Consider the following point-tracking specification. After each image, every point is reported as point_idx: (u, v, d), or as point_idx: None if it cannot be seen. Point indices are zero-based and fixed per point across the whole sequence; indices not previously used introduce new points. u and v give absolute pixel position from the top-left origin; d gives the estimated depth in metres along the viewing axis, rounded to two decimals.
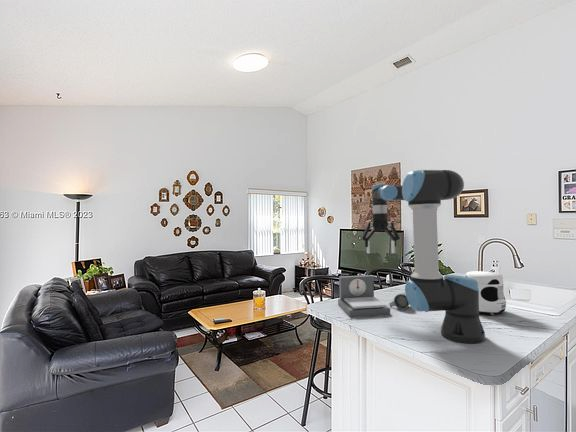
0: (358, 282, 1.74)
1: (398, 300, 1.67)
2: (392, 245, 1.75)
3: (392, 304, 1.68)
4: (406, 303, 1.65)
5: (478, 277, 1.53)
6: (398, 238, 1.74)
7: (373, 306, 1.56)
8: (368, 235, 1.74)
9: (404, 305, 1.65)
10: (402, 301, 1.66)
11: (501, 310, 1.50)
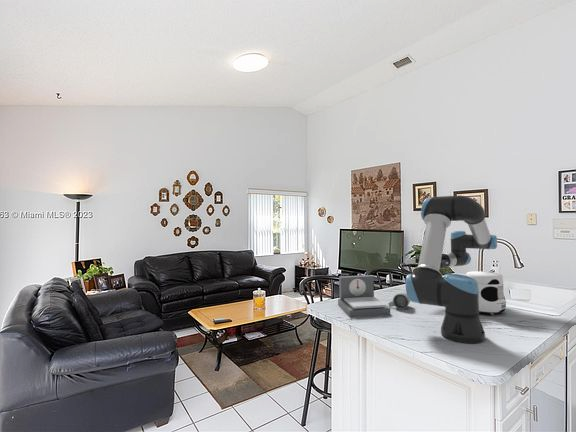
0: (358, 282, 1.74)
1: (397, 300, 1.67)
2: None
3: (391, 304, 1.68)
4: (405, 303, 1.65)
5: (478, 277, 1.53)
6: None
7: (373, 306, 1.56)
8: None
9: (403, 305, 1.65)
10: (401, 301, 1.66)
11: (501, 310, 1.50)
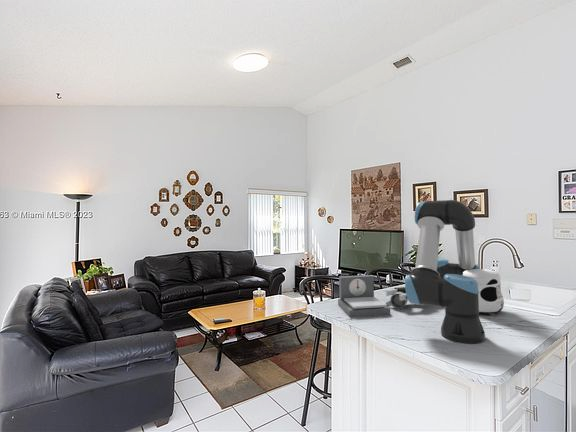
0: (358, 282, 1.74)
1: (395, 299, 1.68)
2: None
3: (389, 303, 1.69)
4: (402, 302, 1.66)
5: (477, 278, 1.51)
6: None
7: (373, 306, 1.56)
8: None
9: (401, 304, 1.66)
10: (399, 300, 1.66)
11: (500, 308, 1.51)
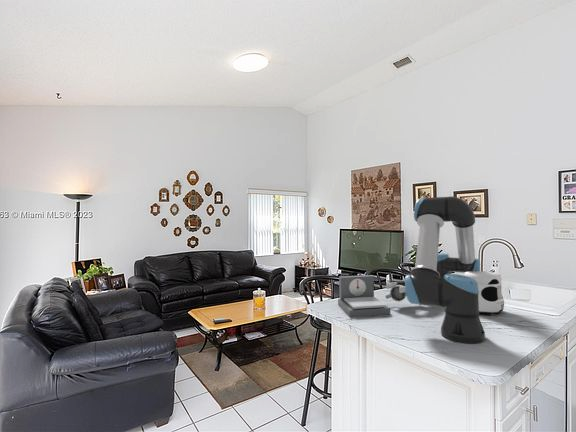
0: (358, 282, 1.74)
1: (394, 292, 1.67)
2: None
3: (388, 296, 1.68)
4: (402, 295, 1.66)
5: (478, 277, 1.52)
6: None
7: (373, 306, 1.56)
8: None
9: (400, 297, 1.66)
10: (398, 293, 1.66)
11: (500, 309, 1.51)
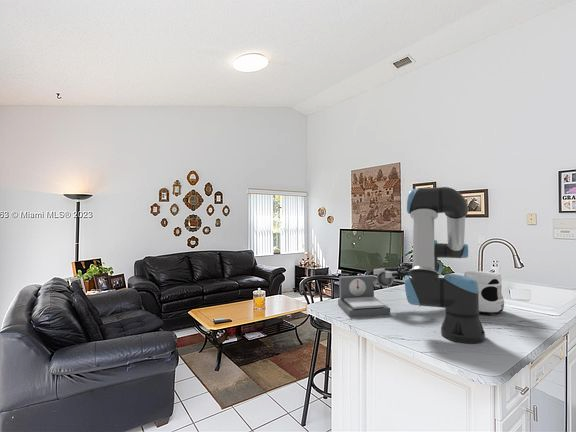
0: (358, 282, 1.74)
1: (381, 278, 1.67)
2: None
3: (375, 282, 1.68)
4: (389, 281, 1.65)
5: (478, 277, 1.52)
6: (402, 272, 1.62)
7: (373, 306, 1.56)
8: None
9: (387, 283, 1.66)
10: (385, 279, 1.66)
11: (500, 309, 1.51)
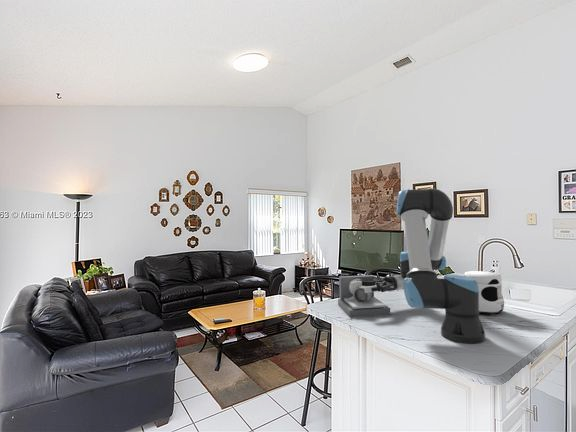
0: None
1: (358, 294, 1.63)
2: None
3: (352, 298, 1.64)
4: (366, 297, 1.61)
5: (478, 277, 1.52)
6: (381, 286, 1.57)
7: (373, 306, 1.56)
8: None
9: (364, 299, 1.61)
10: (362, 295, 1.61)
11: (500, 310, 1.51)
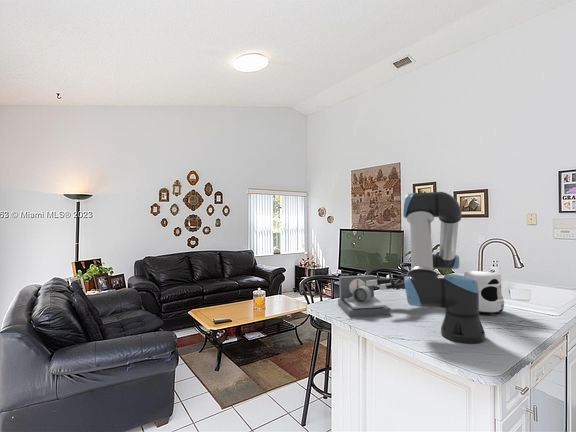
0: (358, 282, 1.74)
1: (357, 294, 1.63)
2: None
3: (351, 298, 1.64)
4: (365, 297, 1.61)
5: (478, 277, 1.53)
6: (396, 284, 1.60)
7: (373, 306, 1.56)
8: None
9: (363, 299, 1.61)
10: (361, 295, 1.61)
11: (500, 309, 1.51)
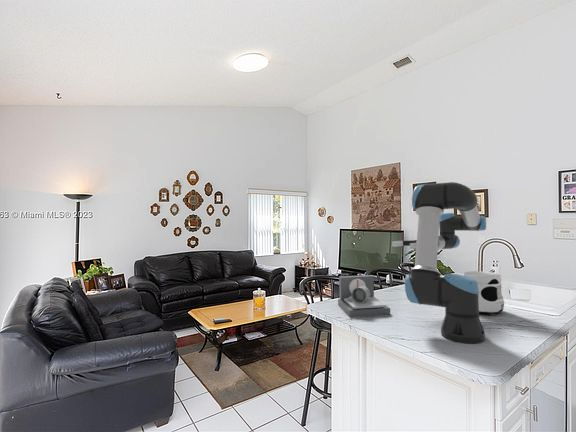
0: (358, 282, 1.74)
1: (356, 294, 1.63)
2: None
3: (350, 298, 1.64)
4: (364, 297, 1.61)
5: (478, 277, 1.53)
6: None
7: (373, 306, 1.56)
8: None
9: (362, 299, 1.61)
10: (360, 295, 1.62)
11: (500, 309, 1.51)
